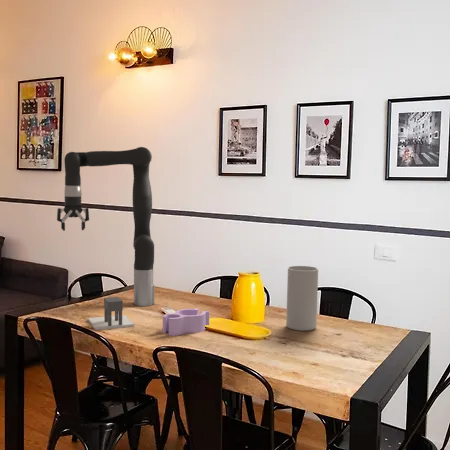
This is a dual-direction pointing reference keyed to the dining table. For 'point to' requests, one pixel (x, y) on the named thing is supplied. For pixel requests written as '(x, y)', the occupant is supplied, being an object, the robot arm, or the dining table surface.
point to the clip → (185, 321)
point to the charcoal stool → (113, 309)
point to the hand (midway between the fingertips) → (73, 230)
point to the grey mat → (101, 324)
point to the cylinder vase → (302, 298)
